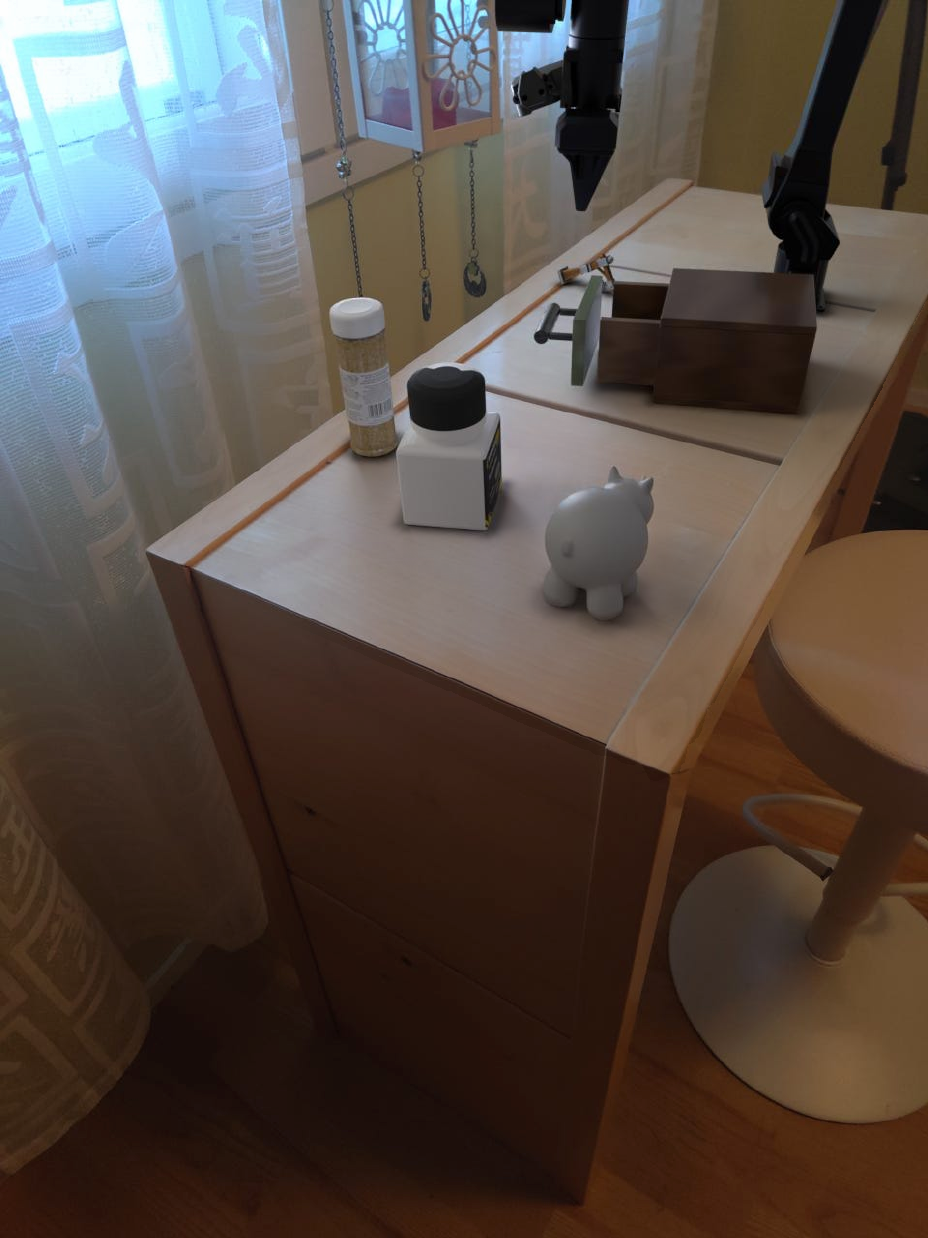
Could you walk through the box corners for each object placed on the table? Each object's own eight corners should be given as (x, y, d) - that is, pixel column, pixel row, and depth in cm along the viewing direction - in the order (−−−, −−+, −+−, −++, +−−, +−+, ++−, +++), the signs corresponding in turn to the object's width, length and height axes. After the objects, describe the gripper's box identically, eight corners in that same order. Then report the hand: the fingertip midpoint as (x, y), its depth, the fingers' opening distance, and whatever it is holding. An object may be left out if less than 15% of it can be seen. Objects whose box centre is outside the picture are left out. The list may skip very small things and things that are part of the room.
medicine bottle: (487, 532, 72) (482, 398, 64) (403, 526, 73) (387, 393, 65) (502, 484, 77) (499, 354, 69) (423, 479, 79) (411, 350, 71)
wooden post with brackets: (617, 292, 106) (606, 253, 104) (567, 304, 112) (556, 268, 110) (625, 287, 107) (615, 249, 105) (576, 300, 113) (565, 264, 111)
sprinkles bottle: (390, 430, 85) (374, 291, 77) (404, 452, 82) (389, 310, 73) (344, 440, 84) (322, 301, 76) (357, 463, 81) (335, 320, 72)
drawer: (529, 382, 90) (529, 316, 85) (550, 334, 98) (551, 272, 93) (698, 395, 86) (708, 327, 81) (706, 344, 94) (714, 280, 89)
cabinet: (652, 403, 87) (661, 317, 81) (664, 347, 96) (672, 267, 90) (797, 414, 84) (817, 326, 78) (796, 356, 93) (813, 273, 87)
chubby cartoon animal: (684, 549, 69) (698, 454, 64) (613, 638, 62) (622, 539, 56) (602, 522, 72) (608, 429, 67) (525, 603, 65) (525, 507, 60)
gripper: (527, 17, 98) (521, 170, 108) (507, 49, 84) (502, 221, 95) (629, 20, 97) (613, 174, 107) (625, 53, 83) (607, 226, 93)
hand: (583, 197), depth 100 cm, fingers open, 9 cm apart
